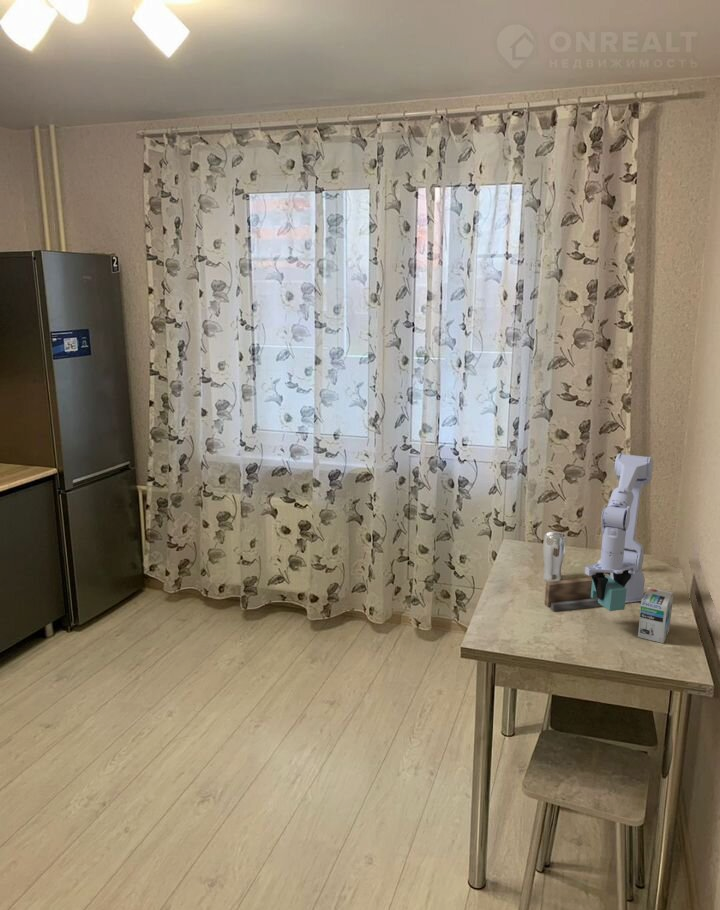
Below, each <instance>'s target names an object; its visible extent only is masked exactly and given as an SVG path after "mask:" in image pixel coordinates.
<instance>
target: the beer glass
mask: <svg viewBox="0 0 720 910" xmlns="http://www.w3.org/2000/svg"><path fill="white" fill-rule="evenodd" d="M566 536H567V535H566V534H565V533H563V532H561V531H555V530H554V531H553V530H552V531H546V532H545V533H544V537H543V543H542V555H543V564H544V566H543V567H544V569H543V573H542V577H541V578H542V580H544V581H546V582H554V581H563V579H562V566H563V562H564V558H565V554H566V549H567V547H566V546H567V543H566V542H567V541H566V538H567V537H566Z"/></svg>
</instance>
